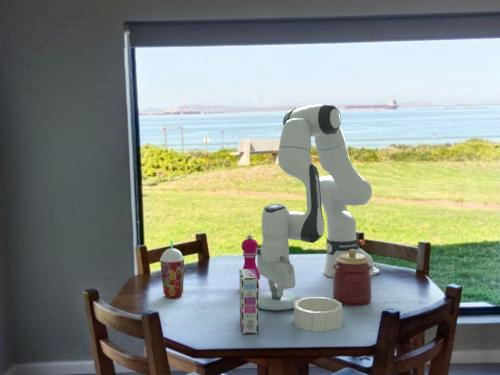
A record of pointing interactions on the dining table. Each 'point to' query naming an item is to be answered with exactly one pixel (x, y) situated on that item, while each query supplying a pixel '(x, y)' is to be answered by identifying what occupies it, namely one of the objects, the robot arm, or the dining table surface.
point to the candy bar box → (248, 301)
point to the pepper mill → (250, 254)
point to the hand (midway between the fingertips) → (276, 294)
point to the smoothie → (172, 272)
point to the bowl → (317, 313)
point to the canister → (352, 279)
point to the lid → (276, 300)
